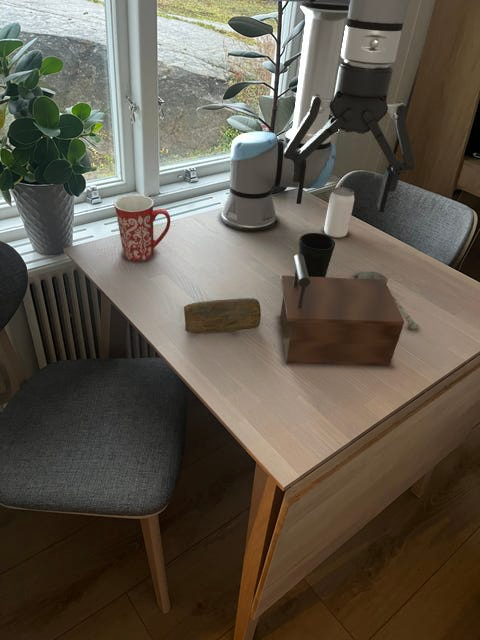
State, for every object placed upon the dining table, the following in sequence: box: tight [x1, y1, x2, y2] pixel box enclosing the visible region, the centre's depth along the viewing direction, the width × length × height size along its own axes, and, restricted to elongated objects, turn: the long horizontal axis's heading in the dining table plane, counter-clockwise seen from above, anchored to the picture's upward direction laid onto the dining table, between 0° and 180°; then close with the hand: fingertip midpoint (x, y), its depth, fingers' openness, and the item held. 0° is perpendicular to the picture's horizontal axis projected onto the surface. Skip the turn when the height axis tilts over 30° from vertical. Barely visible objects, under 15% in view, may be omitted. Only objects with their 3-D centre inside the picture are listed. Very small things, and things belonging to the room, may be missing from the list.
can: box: [323, 186, 355, 239], centre depth 128 cm, size 6×6×12 cm
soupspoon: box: [356, 271, 419, 330], centre depth 106 cm, size 22×3×7 cm
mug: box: [113, 194, 171, 262], centre depth 113 cm, size 13×9×14 cm
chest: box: [279, 298, 404, 367], centre depth 91 cm, size 20×14×10 cm
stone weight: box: [183, 297, 262, 334], centre depth 94 cm, size 15×7×7 cm, turn 103°
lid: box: [280, 253, 405, 326], centre depth 86 cm, size 21×14×7 cm, turn 91°
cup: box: [298, 232, 336, 277], centre depth 106 cm, size 8×8×12 cm
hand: (339, 204), depth 80 cm, fingers open, 13 cm apart
